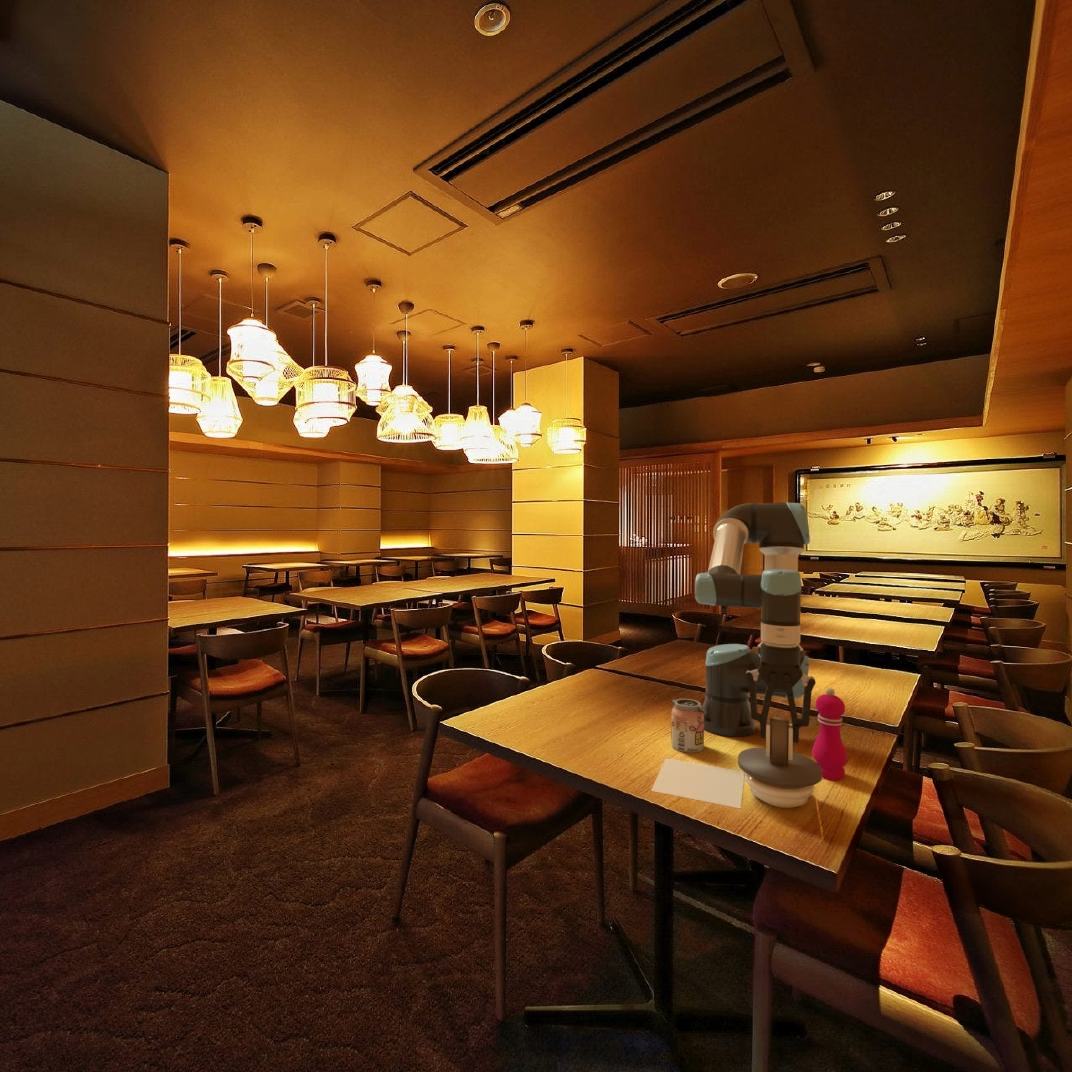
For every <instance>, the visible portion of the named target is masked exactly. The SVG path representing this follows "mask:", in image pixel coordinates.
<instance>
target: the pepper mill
mask: <svg viewBox="0 0 1072 1072" xmlns="http://www.w3.org/2000/svg"><path fill="white" fill-rule="evenodd" d="M835 693H836V692H835V689H833V688H831V687H828V688H827V689H826V690H825V693H824V694H822V695H819V696H818V697H817V698H816V700H815V709H816V711H817V712H818V715H817V721H818V723H819V732H818V736H817V738H816V739H815V740H814V743H813V745H812V748H811V749H812V750H811V751H812V752H811V756H812V758H813V760H814V761H815V762H816V763H818V764H819V765H820V767H821V768H822V779H826V780H829V781H830V780H831V781H841V780H844V779H845V778H846V777H845V776H846V770H845V767H844V766H846V764H847V763H848V759H849V758H848V754H847V750H846V748H845V745H844V743H843V740H842V736H841V726H842V725H843V717H842V716H843V715H844V714H845V711H846V706H845V703H844V701H843V699H842V698H840V697H839V696H837V695H835Z"/></svg>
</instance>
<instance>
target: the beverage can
mask: <svg viewBox="0 0 1072 1072" xmlns="http://www.w3.org/2000/svg"><path fill="white" fill-rule="evenodd" d="M671 704H672V705H673V707H672V709H671V720H670V721H671V722H670V723H671V726H670V727H671V730H670V731H671V732H670V733H671V736H670V737H671V740H670V742H671V743H670V745H671V747H672V748H673V749H674V750H676V751H678V752H682V753H687V754H697V753H700V752H702V751H703V750H704V748H705V729H704V715H706V713H707V711H706V710H705V709H704V708H703V705H702V703H701V702H700V701H699V700H695V699H691V698H678V699H672V701H671Z"/></svg>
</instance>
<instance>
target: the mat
mask: <svg viewBox="0 0 1072 1072" xmlns="http://www.w3.org/2000/svg"><path fill="white" fill-rule="evenodd" d="M744 781H745V772H744V771H743V770H737V769H731V768H724V767H719V766H714V765H708V764H702V763H697V762H692V761H691V762H689V761H684V760H681V759H680V760H679V759H673V758H665V759H664V761H663V763H662V765H661V768H660V769H659V771H658V774H657V776H656V779H655V781H654V783H653V785H652V788H651V790H650V791H651V792H655V793H658V794H664V795H670V796H673V797H679V798H684V799H690V800H695V801H699V802H704V803H708V804H714V805H718V806H724V807H730V808H735V809H740V810H741V809H742V801H743V791H744V790H743V789H744Z"/></svg>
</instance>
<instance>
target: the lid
mask: <svg viewBox="0 0 1072 1072" xmlns="http://www.w3.org/2000/svg"><path fill="white" fill-rule="evenodd" d="M769 721H770V757H768V756H766V746H765V747H763V746H762V747H751V748H747V749H744V750H742V751H740V752H739V754H738V755H737V765H738V767H739V769H741V771H744V772H745V773H747V774H748V775H750V776H752V777H754V778H756V779H759V780H762V781H765V782H768V783H772V784H776V785H782V786H790V787H805V786H812V785H814V786H815V785H817V784H819V783H820V782H821V781H822V780H823V778H822V768H821V767H820V765H819V764H818V763H816V761H815V760H814V759H812V758H809V757H808V756H806V755H803V754H801V753H797V752H795V751H793V759H792V760H788V739H789V724H790V720H789V719H787V718H785V717H779V716H772V717H770V718H769ZM745 773H744V774H745Z"/></svg>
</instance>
